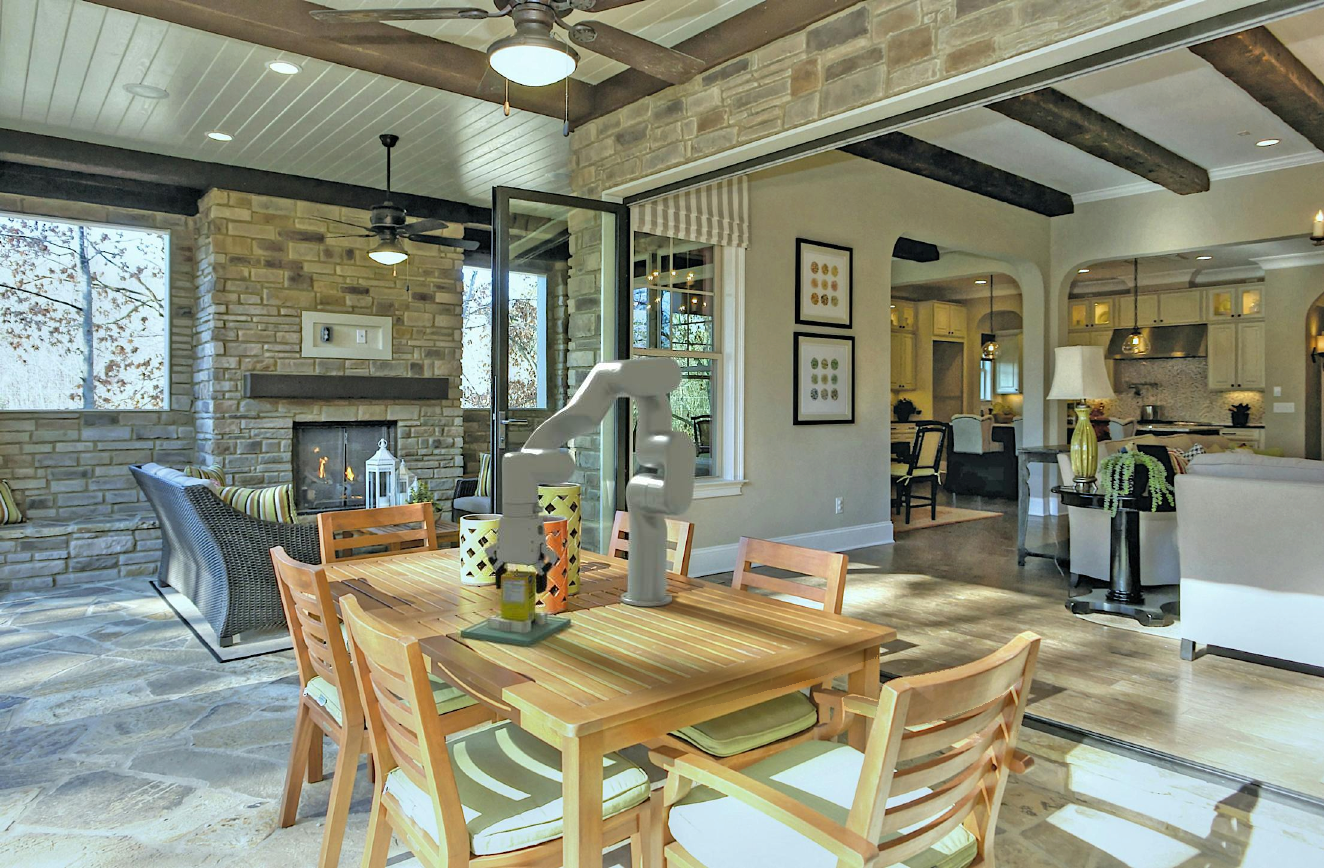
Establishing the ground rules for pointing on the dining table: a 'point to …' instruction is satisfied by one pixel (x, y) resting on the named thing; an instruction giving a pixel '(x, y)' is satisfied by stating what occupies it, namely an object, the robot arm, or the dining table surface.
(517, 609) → the supplement box
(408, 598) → the dining table surface
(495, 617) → the board
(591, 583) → the dining table surface
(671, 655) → the dining table surface
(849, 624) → the dining table surface
